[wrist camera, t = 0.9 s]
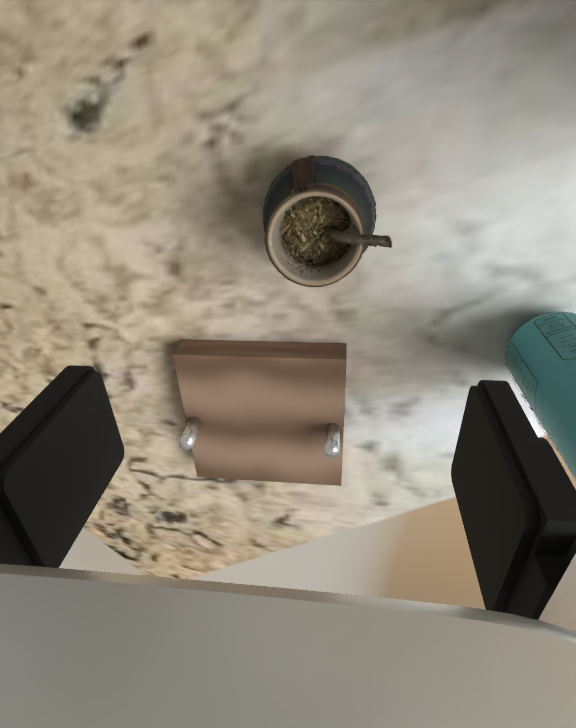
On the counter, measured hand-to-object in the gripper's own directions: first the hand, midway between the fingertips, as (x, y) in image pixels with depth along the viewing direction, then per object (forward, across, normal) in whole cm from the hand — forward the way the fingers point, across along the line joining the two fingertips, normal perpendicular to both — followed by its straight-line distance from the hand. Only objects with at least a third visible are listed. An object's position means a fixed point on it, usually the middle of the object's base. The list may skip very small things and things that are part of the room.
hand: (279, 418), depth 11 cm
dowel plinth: (+23, +5, +18) cm, 30 cm away
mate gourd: (+23, 0, 0) cm, 23 cm away
